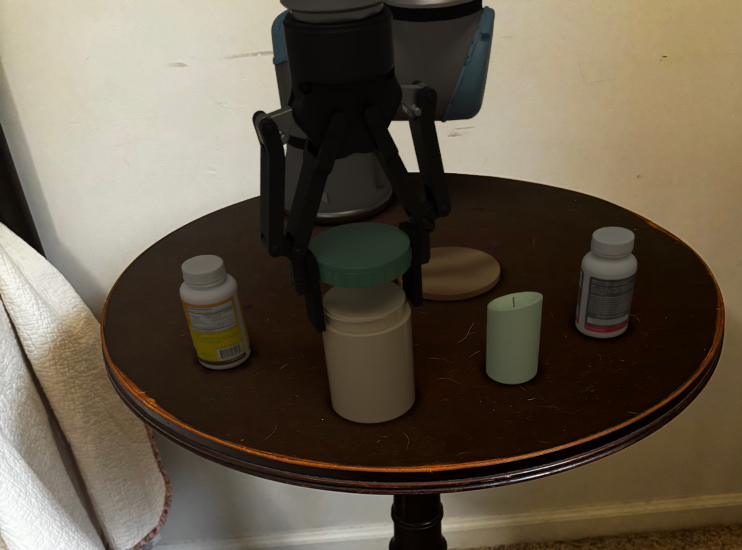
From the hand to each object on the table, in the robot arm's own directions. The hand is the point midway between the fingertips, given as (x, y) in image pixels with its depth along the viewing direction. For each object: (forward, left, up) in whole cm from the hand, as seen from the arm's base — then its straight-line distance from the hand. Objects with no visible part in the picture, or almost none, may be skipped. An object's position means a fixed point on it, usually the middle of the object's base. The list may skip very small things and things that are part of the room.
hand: (365, 311), depth 70 cm
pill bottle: (-1, +26, -9) cm, 27 cm away
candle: (+2, +14, -9) cm, 17 cm away
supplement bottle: (-14, -11, -9) cm, 20 cm away
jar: (0, 0, -9) cm, 9 cm away
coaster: (-19, +17, -9) cm, 27 cm away
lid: (0, 0, +6) cm, 6 cm away
